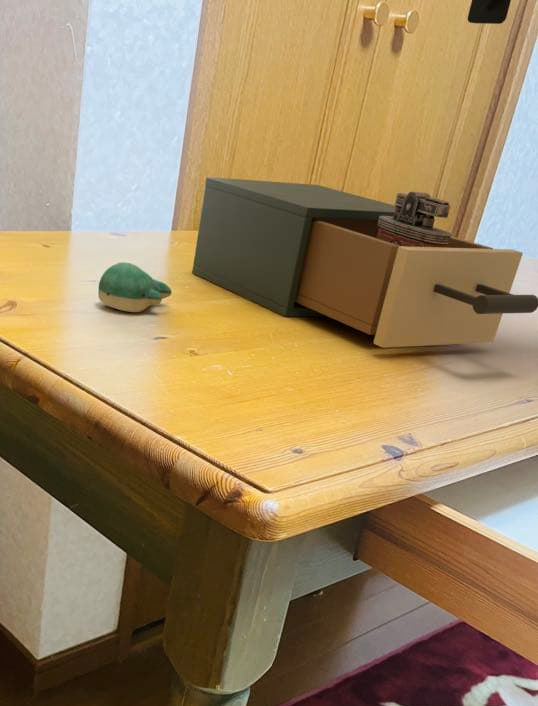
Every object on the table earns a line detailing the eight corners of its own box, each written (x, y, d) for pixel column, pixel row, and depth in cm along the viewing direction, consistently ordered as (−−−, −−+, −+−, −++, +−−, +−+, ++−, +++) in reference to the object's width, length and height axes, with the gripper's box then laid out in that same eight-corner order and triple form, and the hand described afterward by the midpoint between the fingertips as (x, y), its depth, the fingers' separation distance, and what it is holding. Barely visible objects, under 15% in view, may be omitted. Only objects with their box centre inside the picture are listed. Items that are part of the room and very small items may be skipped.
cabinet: (399, 314, 85) (427, 213, 80) (285, 317, 78) (307, 207, 73) (298, 273, 97) (317, 184, 92) (191, 273, 90) (205, 176, 86)
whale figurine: (81, 301, 74) (85, 257, 72) (138, 294, 79) (143, 252, 77) (129, 319, 71) (134, 273, 69) (185, 310, 76) (191, 267, 74)
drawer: (546, 363, 71) (581, 268, 67) (433, 371, 65) (465, 267, 61) (374, 296, 87) (395, 216, 83) (270, 297, 80) (287, 211, 77)
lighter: (350, 298, 79) (377, 184, 74) (379, 299, 80) (408, 187, 75) (404, 323, 72) (438, 200, 68) (434, 324, 74) (470, 203, 69)
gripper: (576, -315, 51) (490, 17, 59) (734, -239, 59) (638, 44, 67) (479, -283, 56) (413, 16, 65) (635, -218, 64) (558, 41, 73)
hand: (527, 30), depth 66 cm, fingers open, 9 cm apart
